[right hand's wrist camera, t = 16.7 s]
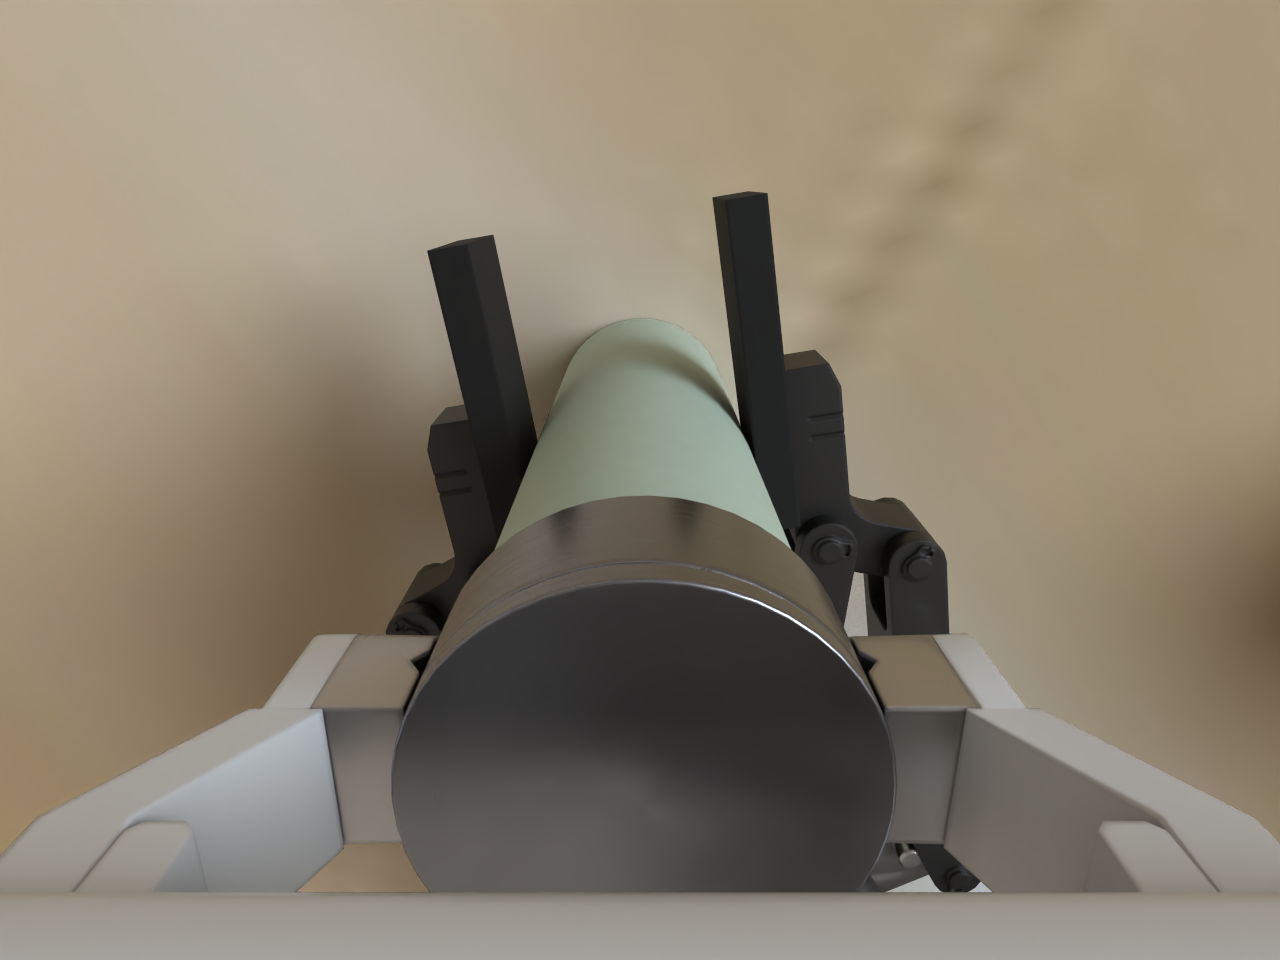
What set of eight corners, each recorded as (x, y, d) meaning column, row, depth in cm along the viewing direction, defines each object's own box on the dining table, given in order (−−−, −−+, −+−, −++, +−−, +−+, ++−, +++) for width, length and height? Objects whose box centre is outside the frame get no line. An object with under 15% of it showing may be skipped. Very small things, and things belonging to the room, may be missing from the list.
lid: (703, 895, 11) (716, 1050, 9) (372, 736, 11) (307, 870, 8) (930, 622, 10) (1006, 736, 8) (568, 411, 9) (547, 478, 7)
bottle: (543, 447, 24) (384, 876, 9) (588, 296, 23) (486, 514, 8) (691, 492, 25) (769, 969, 10) (744, 347, 23) (935, 646, 8)
